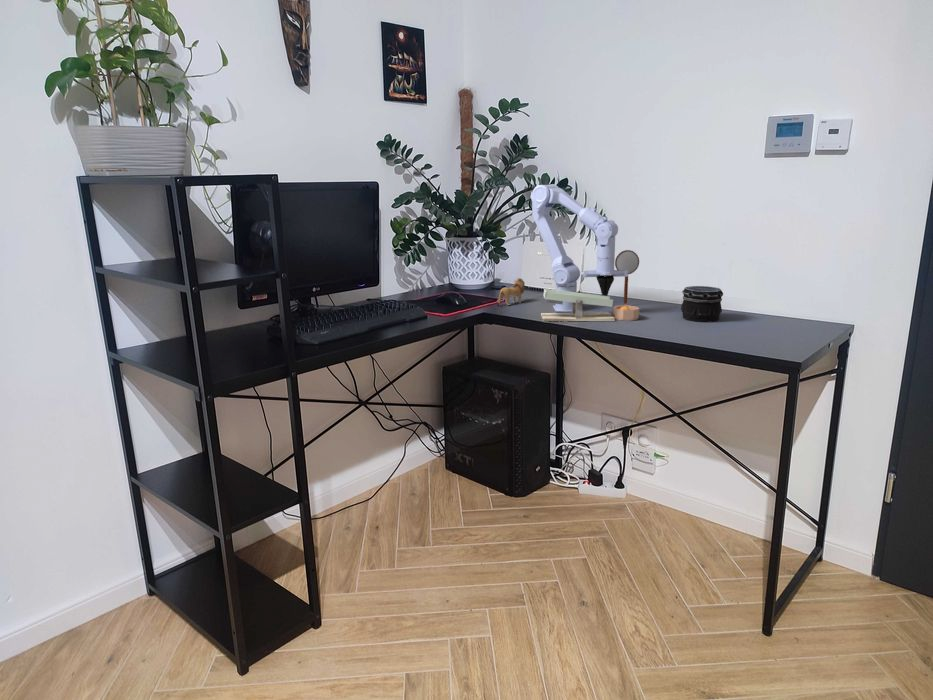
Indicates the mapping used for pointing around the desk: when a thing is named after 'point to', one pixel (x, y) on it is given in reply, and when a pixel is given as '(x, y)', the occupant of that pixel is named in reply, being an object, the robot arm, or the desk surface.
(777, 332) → the desk surface
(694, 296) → the container
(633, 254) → the magnifying glass
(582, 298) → the trough
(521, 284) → the lion figurine
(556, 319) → the stand
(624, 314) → the octagonal wooden bowl
